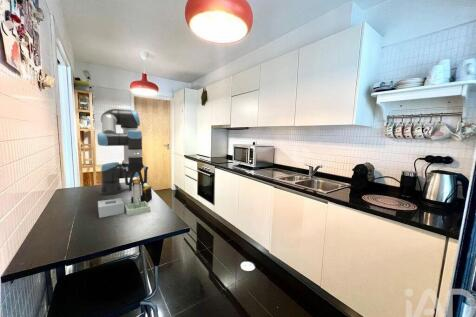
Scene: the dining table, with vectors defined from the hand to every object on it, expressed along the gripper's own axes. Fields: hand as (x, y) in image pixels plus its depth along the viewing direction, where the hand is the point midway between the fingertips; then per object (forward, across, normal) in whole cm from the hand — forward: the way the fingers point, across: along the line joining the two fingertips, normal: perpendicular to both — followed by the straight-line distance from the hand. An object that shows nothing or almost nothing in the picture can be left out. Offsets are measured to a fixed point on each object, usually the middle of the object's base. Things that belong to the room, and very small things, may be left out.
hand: (136, 195), depth 121 cm
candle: (+10, +6, +17) cm, 21 cm away
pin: (+8, 0, 0) cm, 8 cm away
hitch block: (+10, -13, +6) cm, 17 cm away
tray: (+10, 0, 0) cm, 10 cm away
